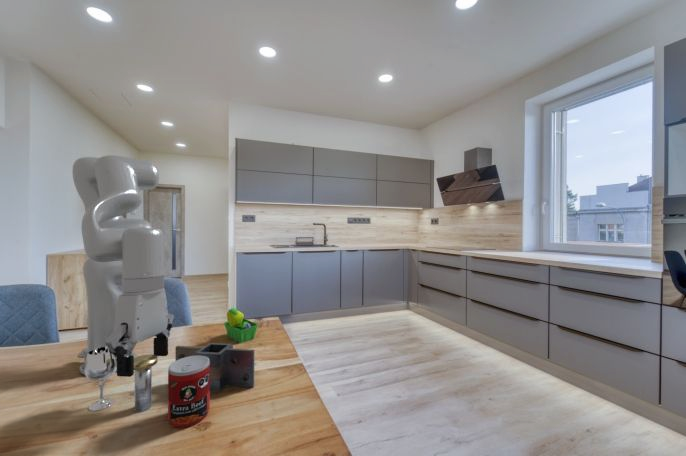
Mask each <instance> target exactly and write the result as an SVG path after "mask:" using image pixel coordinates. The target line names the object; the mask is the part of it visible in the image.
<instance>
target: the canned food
mask: <svg viewBox="0 0 686 456" xmlns="http://www.w3.org/2000/svg"><path fill="white" fill-rule="evenodd" d="M167 373H168V374H167V409H168V410H167V419H168V422H169V424H170V426H171V427H173V428H178V429H183V428H189V427H191V426H195V425H197V424H198V423H200V422H201V421H203V420H204V419H205V418H206V417H207V416H208V414H209V411H210V407H211V406H210V403H211V402H210V400H211V398H210V396H211V393H210V361H209V358H208V357H206V356H200V355H196V356H189V357H185V358H181V359H179V360H177V361H173V362H172V363H170V364H169V366H168V371H167Z"/></svg>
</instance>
